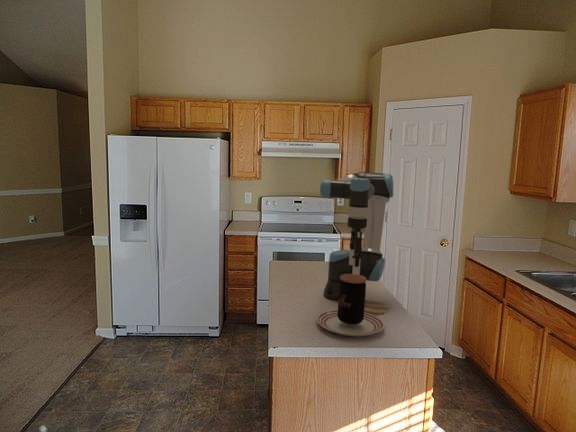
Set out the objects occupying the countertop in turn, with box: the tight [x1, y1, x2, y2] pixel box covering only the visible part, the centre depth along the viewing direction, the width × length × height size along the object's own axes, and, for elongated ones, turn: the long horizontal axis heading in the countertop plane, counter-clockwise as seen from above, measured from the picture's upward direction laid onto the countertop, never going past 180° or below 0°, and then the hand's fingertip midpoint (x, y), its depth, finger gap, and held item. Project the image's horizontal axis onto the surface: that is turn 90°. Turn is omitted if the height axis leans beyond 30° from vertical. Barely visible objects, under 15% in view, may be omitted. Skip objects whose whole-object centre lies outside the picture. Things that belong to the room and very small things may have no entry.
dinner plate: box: [316, 309, 385, 337], centre depth 164 cm, size 28×27×3 cm
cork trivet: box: [364, 300, 389, 315], centre depth 187 cm, size 16×16×1 cm
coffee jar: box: [337, 274, 368, 324], centre depth 163 cm, size 11×11×18 cm
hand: (353, 269), depth 162 cm, fingers open, 13 cm apart
